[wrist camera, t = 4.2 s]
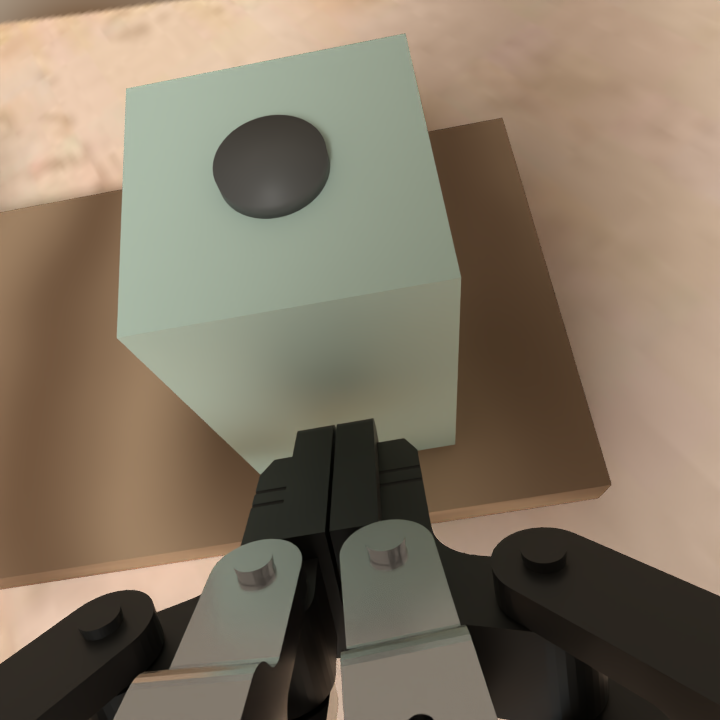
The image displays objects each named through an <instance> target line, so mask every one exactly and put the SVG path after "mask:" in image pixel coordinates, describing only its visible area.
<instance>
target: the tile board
mask: <svg viewBox="0 0 720 720" xmlns="http://www.w3.org/2000/svg"><path fill="white" fill-rule="evenodd" d="M428 135H429V139H430V143H431V148H432V152H433V157H434V161H435V165H436V170H437V174H438V178H439V183H440V187H441V192H442V196H443V200H444V205H445V209H446V213H447V218H448V222H449V227H450V231H451V235H452V240H453V244H454V248H455V253H456V257H457V262H458V266H459V270H460V275H461V297H460V325H459V353H458V380H457V408H456V435H455V445H449V446H443V447H437V448H430V449H424V450H418V456H419V462H420V467H421V473H422V478H423V484H424V489H425V495H426V500H427V506H428V511H429V517H430V522H431V524H433V523H439V522H446V521H452V520H459V519H465V518H472V517H479V516H485V515H492V514H498V513H505V512H511V511H518V510H524V509H531V508H538V507H544V506H551V505H557V504H564V503H570V502H577V501H583V500H590V499H596V498H599V497H600V496H601V495H602V494H603V493H604V492H605V491H606V490H607V489H608V488H609V487H610V486H611V481H610V478H609V475H608V471H607V468H606V465H605V461H604V458H603V455H602V451H601V448H600V444H599V441H598V438H597V434H596V431H595V428H594V424H593V421H592V418H591V414H590V411H589V408H588V404H587V401H586V397H585V394H584V391H583V387H582V384H581V381H580V377H579V374H578V371H577V367H576V364H575V360H574V357H573V354H572V350H571V347H570V344H569V340H568V337H567V334H566V330H565V327H564V324H563V320H562V317H561V313H560V310H559V307H558V303H557V300H556V297H555V293H554V290H553V287H552V283H551V280H550V276H549V273H548V270H547V266H546V263H545V260H544V256H543V253H542V250H541V246H540V243H539V239H538V236H537V233H536V229H535V226H534V223H533V219H532V216H531V213H530V209H529V206H528V203H527V199H526V196H525V192H524V189H523V186H522V182H521V179H520V176H519V172H518V169H517V166H516V162H515V159H514V155H513V152H512V149H511V145H510V142H509V139H508V135H507V132H506V129H505V125H504V122H503V119H502V118H499V119H494V120H488V121H483V122H478V123H472V124H467V125H462V126H456V127H451V128H446V129H441V130H435V131H430V132H428ZM121 213H122V190H117V191H112V192H106V193H101V194H96V195H90V196H85V197H80V198H75V199H69V200H64V201H59V202H53V203H48V204H43V205H37V206H32V207H27V208H21V209H16V210H11V211H6V212H0V589H7V588H13V587H20V586H26V585H33V584H39V583H46V582H52V581H59V580H66V579H72V578H79V577H85V576H92V575H98V574H105V573H111V572H118V571H125V570H131V569H138V568H144V567H151V566H157V565H164V564H170V563H177V562H184V561H190V560H197V559H203V558H210V557H216V556H223V555H227V554H228V553H229V552H231V551H233V550H234V549H236V548H238V547H240V546H241V543H242V539H243V535H244V532H245V528H246V524H247V521H248V517H249V514H250V510H251V508H252V503H253V499H254V495H256V488H257V485H258V481H259V477H260V475H261V474H259V473H258V472H257V471H256V470H255V469H254V468H253V467H252V466H251V465H250V464H249V463H248V462H247V461H246V460H245V459H244V458H243V457H242V456H241V455H239V454H238V453H237V452H236V451H235V450H234V449H233V448H232V447H231V446H230V445H229V444H228V443H227V442H226V441H225V440H224V439H223V438H222V437H221V436H219V435H218V434H217V433H216V432H215V431H214V430H213V429H212V428H211V427H210V426H209V425H208V424H207V423H206V422H205V421H204V420H203V419H202V418H201V417H199V416H198V415H197V414H196V413H195V412H194V411H193V410H192V409H191V408H190V407H189V406H188V405H187V404H186V403H185V402H184V401H183V400H182V399H180V398H179V397H178V396H177V395H176V394H175V393H174V392H173V391H172V390H171V389H170V388H169V387H168V386H167V385H166V384H165V383H164V382H163V381H162V380H160V379H159V378H158V377H157V376H156V375H155V374H154V373H153V372H152V371H151V370H150V369H149V368H148V367H147V366H146V365H145V364H144V363H143V362H142V361H140V360H139V359H138V358H137V357H136V356H135V355H134V354H133V353H132V352H131V351H130V350H129V349H128V348H127V347H126V346H125V345H124V344H123V343H122V342H120V341H119V340H118V339H117V318H118V292H119V266H120V240H121Z"/></svg>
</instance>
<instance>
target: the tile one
mask: <svg viewBox="0 0 720 720" xmlns="http://www.w3.org/2000/svg"><path fill="white" fill-rule="evenodd" d="M460 297H461V275H460V270H459V266H458V262H457V257H456V253H455V248H454V244H453V240H452V235H451V231H450V227H449V222H448V218H447V213H446V209H445V205H444V200H443V196H442V192H441V187H440V183H439V178H438V174H437V170H436V165H435V161H434V157H433V152H432V148H431V143H430V139H429V135H428V130H427V126H426V121H425V117H424V113H423V108H422V104H421V100H420V95H419V91H418V86H417V82H416V78H415V73H414V69H413V65H412V60H411V56H410V51H409V47H408V43H407V38H406V34H400V35H395V36H390V37H385V38H380V39H375V40H370V41H365V42H360V43H355V44H350V45H345V46H340V47H335V48H330V49H325V50H319V51H314V52H309V53H304V54H299V55H294V56H289V57H284V58H279V59H274V60H269V61H264V62H259V63H254V64H249V65H244V66H239V67H234V68H229V69H223V70H218V71H213V72H208V73H203V74H198V75H193V76H188V77H183V78H178V79H173V80H168V81H163V82H158V83H153V84H148V85H143V86H138V87H133V88H127V89H126V109H125V135H124V161H123V187H122V213H121V240H120V266H119V292H118V318H117V339H118V340H119V341H120V342H122V343H123V344H124V345H125V346H126V347H127V348H128V349H129V350H130V351H131V352H132V353H133V354H134V355H135V356H136V357H137V358H138V359H139V360H140V361H142V362H143V363H144V364H145V365H146V366H147V367H148V368H149V369H150V370H151V371H152V372H153V373H154V374H155V375H156V376H157V377H158V378H159V379H160V380H162V381H163V382H164V383H165V384H166V385H167V386H168V387H169V388H170V389H171V390H172V391H173V392H174V393H175V394H176V395H177V396H178V397H179V398H180V399H182V400H183V401H184V402H185V403H186V404H187V405H188V406H189V407H190V408H191V409H192V410H193V411H194V412H195V413H196V414H197V415H198V416H199V417H201V418H202V419H203V420H204V421H205V422H206V423H207V424H208V425H209V426H210V427H211V428H212V429H213V430H214V431H215V432H216V433H217V434H218V435H219V436H221V437H222V438H223V439H224V440H225V441H226V442H227V443H228V444H229V445H230V446H231V447H232V448H233V449H234V450H235V451H236V452H237V453H238V454H239V455H241V456H242V457H243V458H244V459H245V460H246V461H247V462H248V463H249V464H250V465H251V466H252V467H253V468H254V469H255V470H256V471H257V472H258V473H259V474H262V473H263V472H264V471H265V469H266V468H267V467H268V466H269V465H270V464H271V463H272V462H273V461H274V460H276V459H282V458H288V457H292V456H293V450H294V445H295V440H296V435H297V432H298V431H300V430H306V429H312V428H318V427H324V426H330V425H335V427H337V424H342V423H347V422H353V421H359V420H365V419H371V418H374V421H375V425H376V430H377V435H378V440H379V442H384V441H390V440H396V439H402V438H404V439H406V440H407V441H408V442H409V443H410V444H411V445H413V446H414V447H415V448H416V449H417V451H418V450H424V449H430V448H437V447H443V446H449V445H455V435H456V408H457V380H458V353H459V325H460Z"/></svg>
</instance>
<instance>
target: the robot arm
mask: <svg viewBox="0 0 720 720" xmlns="http://www.w3.org/2000/svg"><path fill="white" fill-rule="evenodd" d="M336 658H341V677H342V693H343V709H344V720H498V719H497V718H501V719H507V720H720V596H718V595H716V594H713V593H711V592H709V591H706V590H704V589H702V588H700V587H697V586H695V585H693V584H690V583H688V582H686V581H683V580H681V579H679V578H677V577H674V576H672V575H670V574H667V573H665V572H663V571H660V570H658V569H656V568H653V567H651V566H649V565H647V564H644V563H642V562H640V561H637V560H635V559H633V558H630V557H628V556H626V555H624V554H621V553H619V552H617V551H614V550H612V549H610V548H607V547H605V546H603V545H600V544H598V543H596V542H594V541H591V540H589V539H587V538H584V537H582V536H580V535H577V534H575V533H572V532H570V531H566V530H562V529H557V528H543V527H541V528H531V529H526V530H522V531H519V532H516V533H513V534H511V535H509V536H508V537H506V538H504V539H503V540H502V541H501V542H500V543H499V544H498V545H497V546H496V547H495V549H494V551H493V553H492V556H491V557H490V556H477V555H469V554H465V553H460V552H457V551H455V550H452V549H450V548H448V547H446V546H445V545H444V544H442V543H441V542H440V541H439V540H438V539H437V538H436V537H435V535H434V533H433V531H432V528H431V522H430V517H429V511H428V506H427V500H426V495H425V489H424V484H423V478H422V473H421V467H420V462H419V456H418V451H417V449H416V448H415V447H414V446H413V445H411V444H410V443H409V442H408V441H407V440H406V439H404V438H402V439H396V440H390V441H384V442H379V440H378V435H377V430H376V425H375V421H374V418H371V419H365V420H359V421H353V422H347V423H342V424H337V427H335V425H330V426H324V427H318V428H312V429H306V430H300V431H298V432H297V435H296V440H295V445H294V450H293V456H292V457H288V458H282V459H276V460H274V461H273V462H272V463H271V464H270V465H269V466H268V467H267V468H266V469H265V471H264V472H263V473H262V474H261V475H260V477H259V481H258V485H257V488H256V495H254V499H253V503H252V508H251V510H250V514H249V517H248V521H247V524H246V528H245V532H244V535H243V539H242V543H241V546H240V547H238V548H236V549H234V550H233V551H231V552H229V553H228V554H227V555H225V556H224V557H223V558H222V559H221V560H220V561H219V562H218V563H217V564H216V565H215V566H214V568H213V569H212V571H211V573H210V575H209V578H208V580H207V582H206V585H205V587H204V589H203V592H202V594H201V595H199V596H197V597H195V598H193V599H190V600H188V601H185V602H183V603H180V604H178V605H175V606H172V607H170V608H167V609H164V610H162V611H159V612H156V610H155V607H154V604H153V601H152V599H151V598H150V597H149V596H148V595H147V594H145V593H143V592H140V591H135V590H123V591H117V592H112V593H109V594H106V595H103V596H100V597H98V598H96V599H94V600H92V601H90V602H88V603H86V604H84V605H83V606H81V607H80V608H78V609H77V610H75V611H74V612H73V613H71V614H70V615H68V616H67V617H66V618H64V619H63V620H61V621H60V622H59V623H57V624H56V625H54V626H53V627H52V628H50V629H49V630H47V631H46V632H45V633H43V634H42V635H40V636H39V637H38V638H36V639H35V640H33V641H32V642H31V643H29V644H28V645H26V646H25V647H23V648H22V649H21V650H19V651H18V652H16V653H15V654H14V655H12V656H11V657H9V658H8V659H7V660H5V661H4V662H2V663H1V664H0V720H337V712H338V695H337V690H336V686H335V683H334V682H335V676H336Z"/></svg>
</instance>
